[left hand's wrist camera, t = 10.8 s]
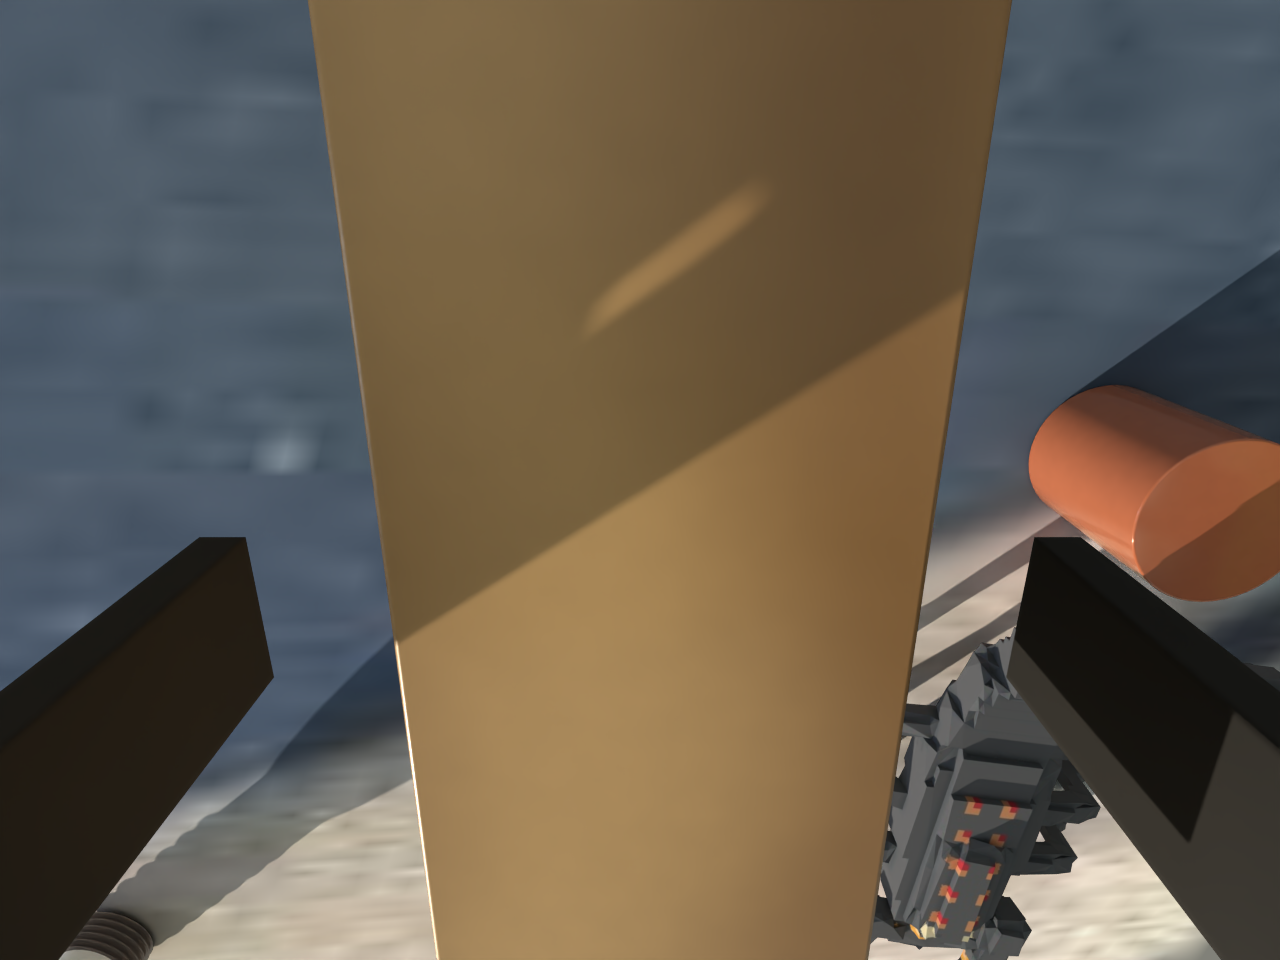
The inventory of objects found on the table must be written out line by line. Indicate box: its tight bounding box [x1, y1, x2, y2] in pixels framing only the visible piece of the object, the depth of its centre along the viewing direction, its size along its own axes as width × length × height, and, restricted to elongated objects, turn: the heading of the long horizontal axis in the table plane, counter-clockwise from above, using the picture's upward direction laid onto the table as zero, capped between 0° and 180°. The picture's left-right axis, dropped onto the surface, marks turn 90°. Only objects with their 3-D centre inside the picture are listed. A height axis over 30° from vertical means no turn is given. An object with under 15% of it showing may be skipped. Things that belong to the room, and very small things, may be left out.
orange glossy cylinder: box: [1029, 385, 1280, 602], centre depth 27 cm, size 6×6×7 cm
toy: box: [870, 627, 1280, 960], centre depth 27 cm, size 13×27×18 cm, turn 172°
